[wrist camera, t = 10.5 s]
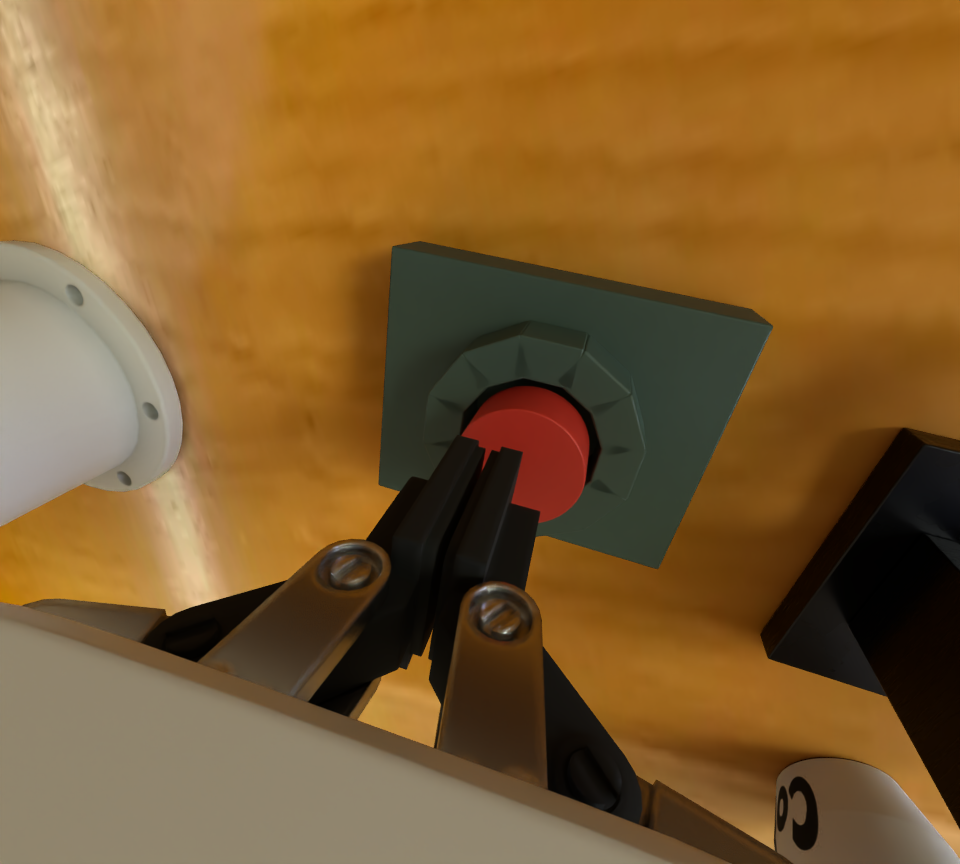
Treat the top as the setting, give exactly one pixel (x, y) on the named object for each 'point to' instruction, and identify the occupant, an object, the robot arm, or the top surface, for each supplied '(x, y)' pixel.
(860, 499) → the bracket
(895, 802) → the cup
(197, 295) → the top surface
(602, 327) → the button box
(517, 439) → the button
